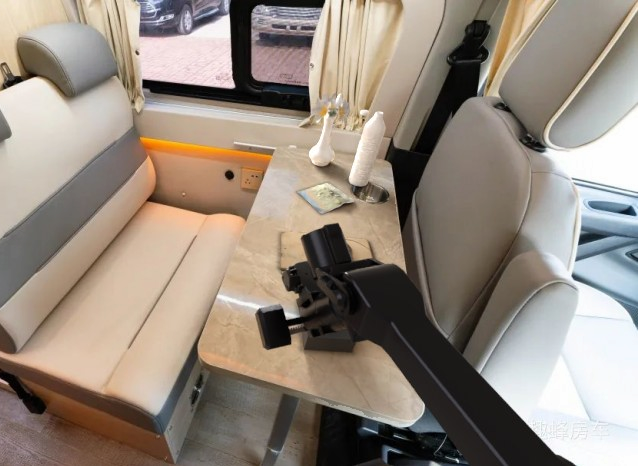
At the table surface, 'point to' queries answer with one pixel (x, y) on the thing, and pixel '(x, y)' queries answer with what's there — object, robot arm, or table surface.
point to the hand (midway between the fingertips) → (300, 324)
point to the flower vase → (327, 126)
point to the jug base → (328, 341)
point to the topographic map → (325, 197)
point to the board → (295, 252)
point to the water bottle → (367, 149)
